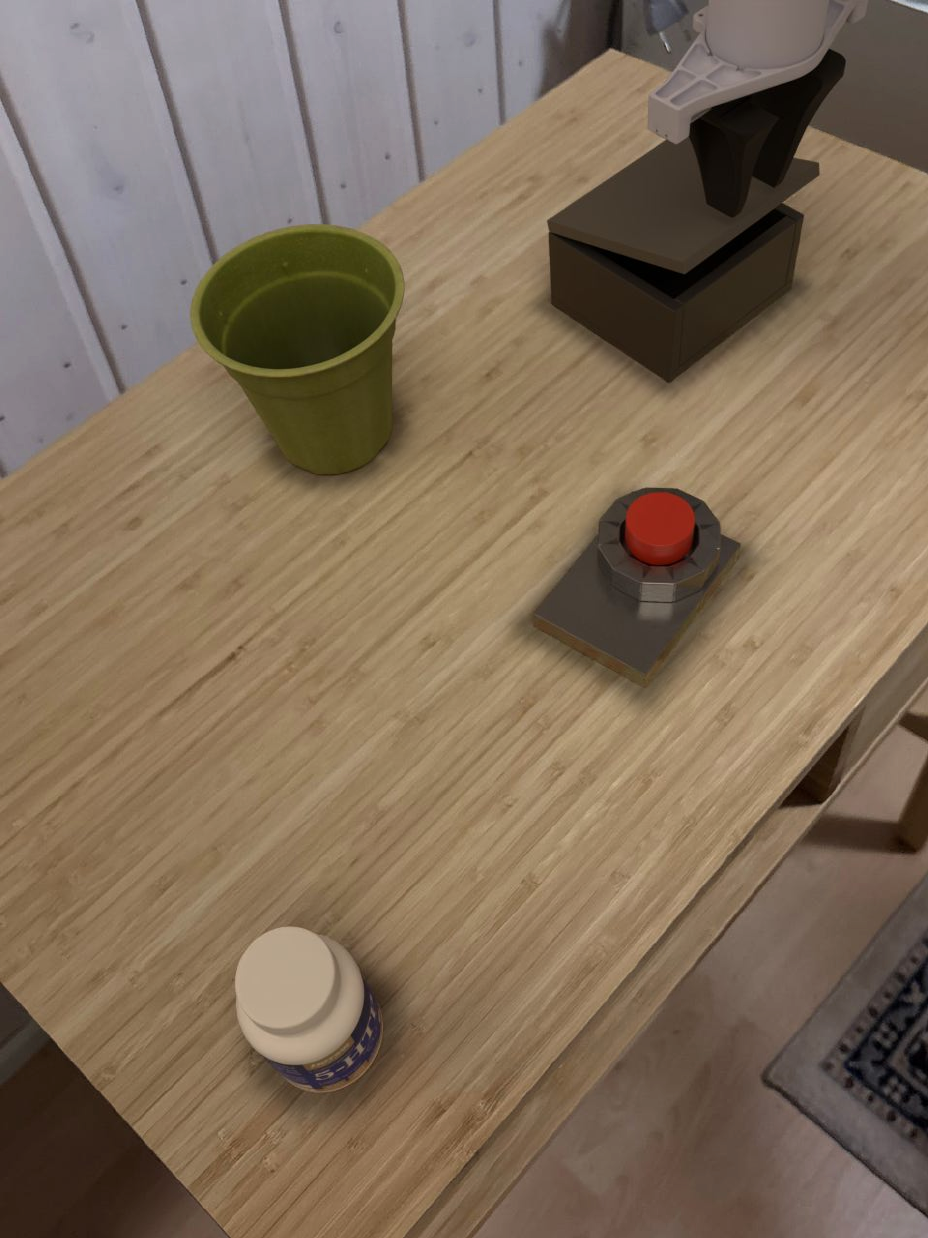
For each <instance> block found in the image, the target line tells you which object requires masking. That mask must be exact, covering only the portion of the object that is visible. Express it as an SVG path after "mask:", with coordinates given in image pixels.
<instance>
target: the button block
mask: <svg viewBox="0 0 928 1238" xmlns="http://www.w3.org/2000/svg"><path fill="white" fill-rule="evenodd" d="M655 492H665V493H671V494H674V495H676V496H679V497H680V498H682V499H684V500H685V501H686V502H687V503H688V504H689V505H690V506H691V508H692V510H693V512H694V515H695V526H694V534H693V543H692V546H691V548H690V550H689V552H688V553H687V554H686V555H685V556H684V557H683V558H682V559H680V560H678V561H676V562H674V563H671V564H667V565H652V564H648V563H645V562H643V561H641V560H639V559H637V558H636V557H635V556H634V555H633V554H632V553H631V552H630V551H629V549H628V548H627V545H626V541H625V527H626V514H627V511H628V509H629V507H630V506H631V504H632V503H633V502H634V501H635V500H636V499H638V498H639V497H641V496H643V495H646V494H649V493H655ZM597 530H598V531H597V534H596V535H595V537H594V538H593V539H592V541H591V542H590V543H589V544H588V545H587V547H585V549H584V550H583V551H582V553H581V554H580V555H579V556H578V558H577V559H576V560H575V562H573V564H572V565H571V567H569V569H568V570H567V572H565V573H564V575H563V576H562V578H561V579H560V580H559V581H558V583H557V584H556V585H555V586H554V587H553V589H552V590H551V591H550V592H549V593H548V594H547V596H546V597H545V599H544V600H543V601H542V602H541V604H539V606H538V607H537V608H536V610H535V611H534V613H533V614H532V615H533V626H534V627H535V628H536V629H538V630H540V631H541V632H544V633H546V634H547V635H549V636H551V637H553V638H554V639H556V640H558V641H560V642H562V643H563V644H565V645H567V646H568V647H571V648H572V649H574V650H576V651H578V652H580V653H581V654H583V655H585V656H587V657H589V658H590V659H592V660H594V661H596V662H598V664H599V663H600V664H601V665H603V666H604V667H607V668H608V669H610V670H612V671H614V672H616V673H617V674H619V675H621V676H623V677H624V678H627V679H628V680H630V681H632V682H633V683H636V684H637V685H639V686H641V687H643V688H645V687H646V686H647V684H648V683H650V681H651V680H652V678H653V676H654V675H655V674H656V672H658V669H660V667H661V665H662V664H663V662H664V661H665V660H666V659H667V657H668V656H669V654H670V653H671V652H672V650H673V649H674V647H675V646H676V645H677V643H678V642H679V640H680V639H681V638H682V637H683V635H684V634H685V632H686V631H687V630H688V628H689V627H690V625H691V624H692V623H693V621H694V620H695V619H696V617H697V616H698V614H699V613H700V612H701V610H702V609H703V608H704V606H705V605H706V603H707V602H708V601H709V599H710V598H711V596H712V595H713V594H714V593H715V591H716V590H717V588H718V587H719V585H720V584H721V583H722V581H723V580H724V578H725V577H726V576H727V575H728V573H729V572H730V570H731V569H732V567H734V565H735V564H736V562H737V561H738V559H739V558H740V554H741V548H742V543H741V542H739V541H736V540H734V539H733V538H730V537H729V536H726V535H724V534H722V526H721V522H720V520H719V519H718V518H717V517H716V515H715V514H714V513H713V511H712V510H711V508H710V507H709V505H708V504H707V503H706V501H704V500H703V499H700V498H699V497H696V496H694V495H692V494H690V493H688V492H685V491H683V490H682V489H679V488H677V487H676V488H675V487H647V486H646V487H642V488H640V489H637V490H635V491H631V492H630V493H627V494H625V495H623V496H621V497H619V498H617V499H615V500H614V501H613V502H612V504H611V505H610V506H609V507H608V509H607V510H605V512H604V514H602V515H601V517H600V519H599V520H598V529H597Z"/></svg>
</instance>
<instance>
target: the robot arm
mask: <svg viewBox="0 0 928 1238" xmlns="http://www.w3.org/2000/svg"><path fill="white" fill-rule="evenodd" d="M868 5H869V0H708V4H707V5H706V6H704V7H703V8H701V9H700V10H698V11H696V12H695V13H694V14H693V17H692V29H693V30H694V31H695V32H696V33H698V35H697V36H696V38H695V40H694V41H693V43H692V44H691V45H690V47H689V48H688V49H687V51H686V52H685V53H684V55H683V56H682V58H681V60H680V61H679V62H678V64H677V65H676V67H675V68H674V69H673V70H672V72H671V74H670V75H669V76H668V77H667V78H666V80H665V81H664V82H663V83H662V84H660V85H659V86H658V87H657V88H656V89H654V90H653V91H652V92H651V91H650V93H649V94H648V101H647V102H648V103H647V123H646V125H647V126H646V128H647V130H648V131H650V132H652V133H653V134H655V135H656V136H659V137H660V138H662V139H664V140H669V141H670V142H672V143H674V144H678V143H680V142H681V141H683V140H684V139H686V138H687V137H688V136H689V138H690V141H691V143H692V146H693V148H694V151H695V154H696V157H697V161H698V165H699V169H700V173H701V178H702V183H703V188H704V193H705V198H706V203H707V205H709V206H711V207H713V208H715V209H716V210H718V211H720V212H722V213H724V214H725V215H727V216H729V217H731V218H734V217H735V216H737V215H738V214H739V213H741V211H742V209H743V207H744V205H745V202H746V200H747V196H748V192H749V188H750V183H751V179H752V176H753V177H755V178H756V179H758V180H760V181H762V182H764V183H766V184H768V185H770V186H771V187H773V188H775V187H777V186H778V185H779V184H781V183H782V181H783V179H784V177H785V175H786V173H787V171H788V169H789V167H790V164H791V162H792V160H793V157H794V158H795V155H796V153H797V150H798V148H799V146H800V144H801V143H802V140H803V138H804V136H805V134H806V131H807V129H808V127H809V125H810V124H811V122H812V120H813V118H814V116H815V115H816V113H817V111H818V110H819V108H820V107H821V105H822V103H823V102H824V101H825V99H826V98H827V96H828V95H829V94H830V93H831V92H832V90H833V89H834V87H835V86H836V85H837V84H838V83H839V82H840V80H841V79H842V78H843V77H844V74H845V70H846V64H847V59H846V58H845V56H844V55H842V54H841V53H840V52H839V51H836V50H835V49H831V48H830V47H831V45H832V44H833V42H834V41H835V39H836V37H837V36H838V34H839V32H840V31H841V29H842V27H843V26H844V24H845V23H847V24H856V23H857V22H858V21H860V20H862V19H863V18H865V17H866V14H867V11H868V10H867V9H868Z"/></svg>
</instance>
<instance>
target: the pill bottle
mask: <svg viewBox="0 0 928 1238" xmlns="http://www.w3.org/2000/svg"><path fill="white" fill-rule="evenodd" d="M234 990H235V995H236V998H235V1012H236V1018H237V1022H238V1024H239V1027H240V1030H241V1032H242V1034H243V1035H244V1037H245V1039H246V1040H247V1042H248V1043H249V1044H250V1046H251V1047H252V1049H254V1051H256V1052H257V1053H258V1054H259V1055H260V1056H261V1057H262V1058H263V1059H264V1060H265V1061H266V1062H267V1063H268V1064H269V1065H270V1066H271V1067H272V1068H273V1069H274V1070H275V1071H276V1072H277V1073H278V1074H279V1075H280V1076H281V1077H282V1078H283V1079H284V1080H286V1081H287V1083H290V1084H291V1085H292V1086H294V1087H296V1088H298V1089H300V1090H303V1091H306V1092H311V1093H331V1092H335V1091H340V1090H341V1089H344V1088H346V1087H348V1086H350V1085H351V1084H353V1083H354V1082H356V1081H358V1079H360V1078H361V1077H362V1076H363V1075H364V1074H365V1073H366V1072H367V1071H368V1070H369V1068H370V1067H371V1066H372V1064H373V1063H374V1061H375V1059H376V1057H377V1055H378V1053H379V1051H380V1047H381V1045H382V1041H383V1033H384V1022H383V1015H382V1011H381V1006H380V1004H379V1002H378V1000H377V998H376V996H375V994H374V992H373V991H372V989H371V987H370V985H369V983H368V981H367V979H366V978H365V976H364V974H363V972H362V970H361V969H360V967H359V965H358V963H357V962H356V960H355V959H354V957H353V956H352V954H351V953H350V952H349V951H348V950H347V949H346V947H344V946H343V945H342V944H341V943H339V942H338V941H337V940H335V939H333V938H331V937H329V936H325V935H323V934H320V933H315V932H314V931H311V930H310V929H307V928H304V927H300V926H291V925H288V926H281V927H276V928H274V929H271V930H268V931H266V932H264V933H262V934H261V935H259V936H258V937H257V938H256V939H255V940H253V941H252V942H251V943H250V944H249V945H248V947H246V949H245V950H244V952H243V953H242V955H241V957H240V959H239V961H238V964H237V967H236V971H235V976H234Z"/></svg>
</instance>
